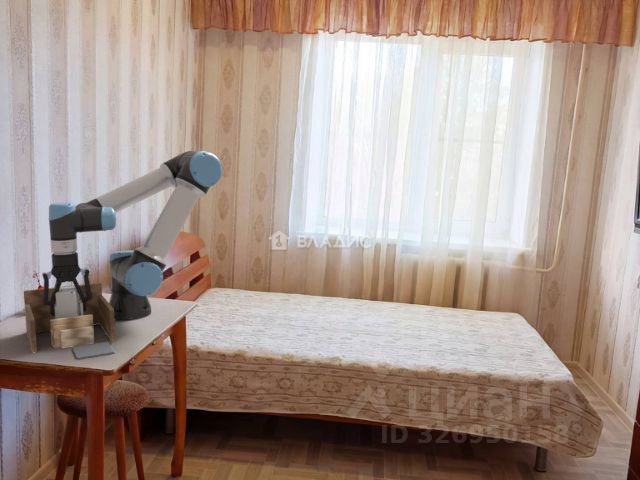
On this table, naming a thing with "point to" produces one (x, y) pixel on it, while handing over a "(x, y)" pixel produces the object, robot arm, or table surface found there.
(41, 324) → the walnut rack
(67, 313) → the skincare box
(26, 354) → the table surface
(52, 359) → the table surface
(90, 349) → the grey rubber mat
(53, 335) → the offcut bundle
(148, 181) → the robot arm
